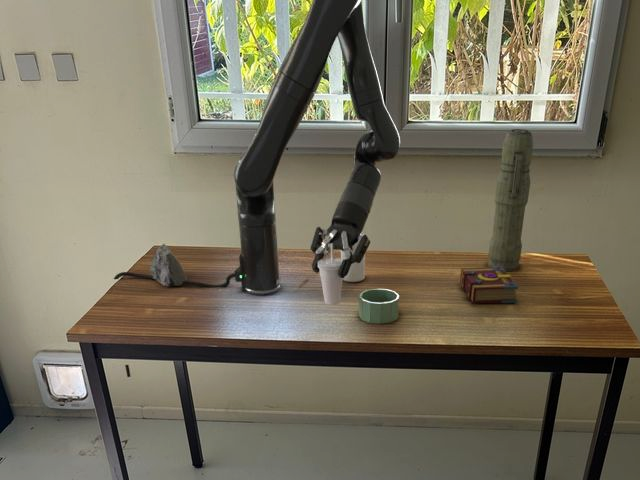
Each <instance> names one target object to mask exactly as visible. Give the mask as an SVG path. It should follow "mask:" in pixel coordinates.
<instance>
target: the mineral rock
mask: <svg viewBox="0 0 640 480" xmlns="http://www.w3.org/2000/svg"><path fill="white" fill-rule="evenodd" d="M149 270H150V271H149V272H150V275H152V276H153V277H154V279H153V280H155V281H156V282H158V283H160V284H161V285H162V286H165V287H168V288H170V287H174V286H175V287H176V286H177V287H180V286H181V285H184V284H183V281H188V277H187V276H186V272H185V270H184V267H183V265H182V263H181V261H180V260H178V259H177V257H176V256H175V255H174V253H173V252H172V251H171V249H170V247H169V246H168V245H167V244H166V243H163V244H161V245H160V246H159V247H157V250H156V252H155V255H154V257H153V259H151V262H150V268H149Z"/></svg>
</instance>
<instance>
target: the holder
mask: <svg viewBox="0 0 640 480" xmlns="http://www.w3.org/2000/svg"><path fill="white" fill-rule="evenodd" d="M399 315H400V295H399V293H398V292H396V291H394V290H391V289H387V288H371V289H366V290H363V291H362V292H360V293H359V295H358V317H359V318H360V319H361V320H362V321H364V322H367V323H369V324H377V325H379V324H382V325H383V324H388V323H389V324H390V323H392V322H394V321H396V320H398V318H399Z"/></svg>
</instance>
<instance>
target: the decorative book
mask: <svg viewBox="0 0 640 480" xmlns="http://www.w3.org/2000/svg"><path fill="white" fill-rule="evenodd" d="M460 271H461V272H460V280H459V283H460V285H461V290H462V291H465V293H466V294H467V295H466V296H467V299H468V300H469V301H471V303H472V304H487V303H490V304H491V303H501V304H509V303H512V304H513V303H517V298H516V297H515V295H516V290H519V285H518V284H517V283H516V282H515V280H513V279H512V275H511V274H510V273H509V274H508V273H507V271H505V269H504V268H503V267H502V266H495V267H488V266H487V267H466V268H465V267H463V268H461V269H460Z"/></svg>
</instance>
